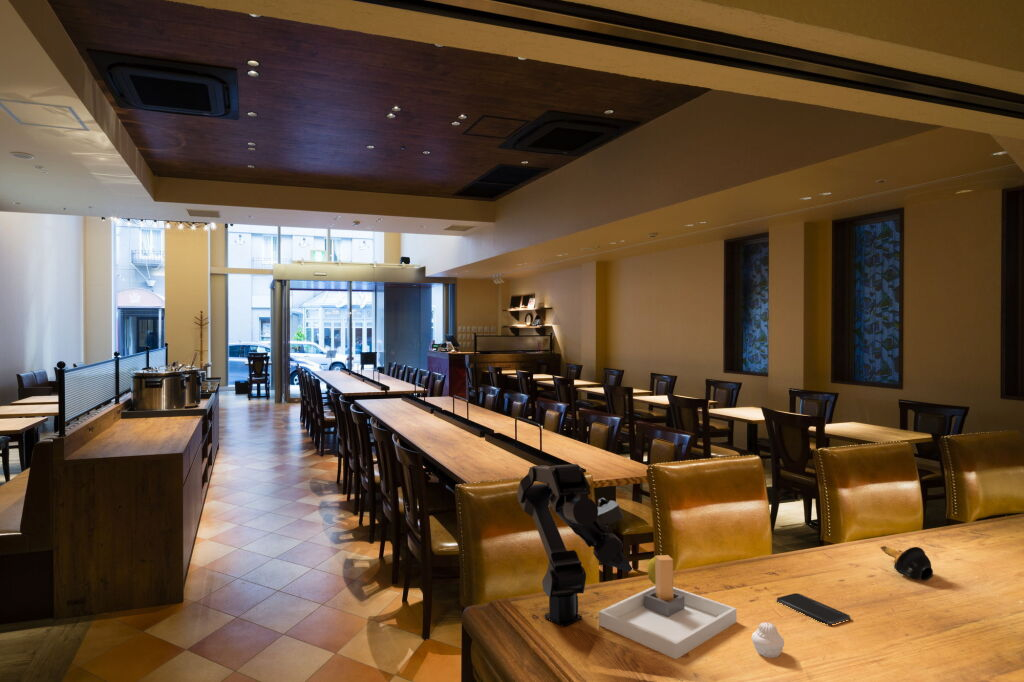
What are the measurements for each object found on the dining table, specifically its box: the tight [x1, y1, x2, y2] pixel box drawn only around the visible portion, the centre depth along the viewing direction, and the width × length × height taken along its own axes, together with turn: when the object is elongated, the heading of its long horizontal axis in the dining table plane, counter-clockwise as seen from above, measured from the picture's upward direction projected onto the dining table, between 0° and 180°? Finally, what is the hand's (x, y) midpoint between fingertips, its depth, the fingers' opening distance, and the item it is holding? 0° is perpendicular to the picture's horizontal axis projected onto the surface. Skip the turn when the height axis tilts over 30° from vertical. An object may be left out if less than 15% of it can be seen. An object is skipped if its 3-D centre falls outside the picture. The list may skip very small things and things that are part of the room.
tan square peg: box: [654, 554, 674, 602], centre depth 143 cm, size 3×3×12 cm
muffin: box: [751, 621, 785, 659], centre depth 122 cm, size 6×6×7 cm
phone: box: [776, 593, 851, 625], centre depth 144 cm, size 8×1×15 cm
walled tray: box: [598, 585, 738, 660], centre depth 135 cm, size 24×20×4 cm
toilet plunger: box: [879, 545, 934, 582], centre depth 167 cm, size 9×11×18 cm
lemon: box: [647, 556, 655, 584], centre depth 158 cm, size 6×6×8 cm
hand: (624, 562), depth 138 cm, fingers open, 9 cm apart
